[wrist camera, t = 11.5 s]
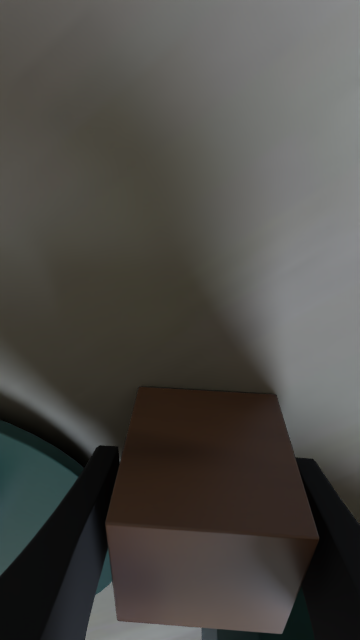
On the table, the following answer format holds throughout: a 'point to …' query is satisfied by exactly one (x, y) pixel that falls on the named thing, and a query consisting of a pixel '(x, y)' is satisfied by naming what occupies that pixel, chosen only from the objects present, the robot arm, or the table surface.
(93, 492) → the robot arm
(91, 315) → the table surface
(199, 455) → the block
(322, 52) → the table surface
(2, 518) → the lid
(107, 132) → the table surface
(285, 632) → the pot
